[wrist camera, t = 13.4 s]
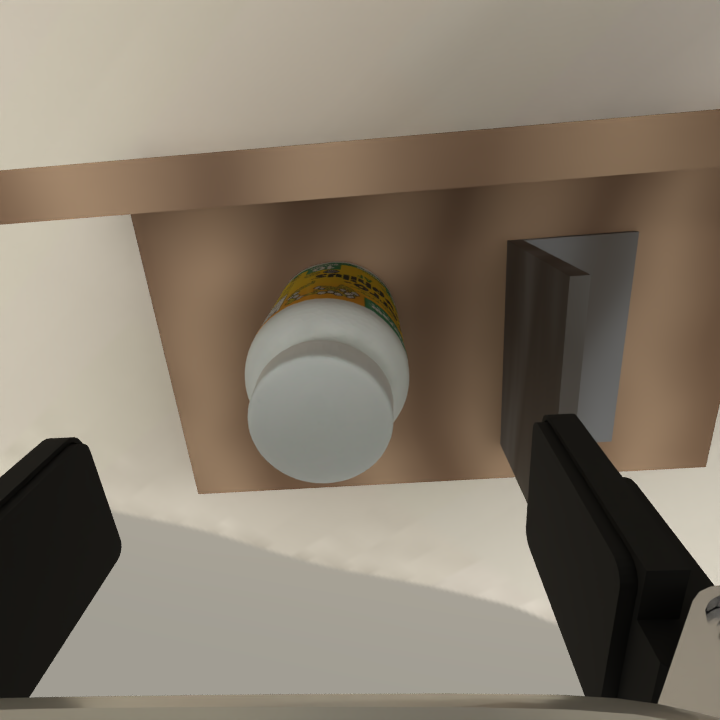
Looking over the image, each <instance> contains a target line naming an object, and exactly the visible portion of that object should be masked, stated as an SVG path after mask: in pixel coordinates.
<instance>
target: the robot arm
mask: <svg viewBox="0 0 720 720" xmlns="http://www.w3.org/2000/svg"><path fill="white" fill-rule="evenodd" d="M526 535H527V541H528V545H529V548H530V551H531V554H532V556H533V559H534V562H535V564H536V567H537V570H538V572H539V575H540V578H541V580H542V583H543V586H544V588H545V591H546V594H547V596H548V599H549V602H550V604H551V607H552V610H553V612H554V615H555V618H556V620H557V623H558V626H559V628H560V631H561V634H562V636H563V639H564V641H565V644H566V647H567V650H568V652H569V655H570V658H571V660H572V663H573V666H574V668H575V671H576V674H577V676H578V679H579V682H580V684H581V687H582V689H583V692H584V695H585V696H570V695H535V694H457V693H455V694H454V693H453V694H452V693H445V694H444V693H437V694H435V693H431V694H430V693H428V694H426V693H425V694H272V695H271V694H270V695H269V694H265V695H264V694H263V695H173V696H172V695H171V696H93V697H35V698H29V696H30V695H31V694H32V692H33V691H34V689H35V687H36V686H37V684H38V683H39V681H40V680H41V678H42V676H43V675H44V674H45V672H46V670H47V669H48V667H49V666H50V664H51V663H52V661H53V659H54V658H55V656H56V655H57V653H58V652H59V650H60V649H61V647H62V645H63V644H64V642H65V641H66V639H67V638H68V636H69V634H70V633H71V631H72V630H73V628H74V627H75V625H76V624H77V622H78V621H79V619H80V618H81V616H82V614H83V613H84V611H85V610H86V608H87V607H88V605H89V604H90V602H91V601H92V599H93V597H94V596H95V594H96V593H97V591H98V590H99V588H100V587H101V585H102V583H103V582H104V580H105V579H106V577H107V576H108V574H109V573H110V571H111V569H112V568H113V566H114V564H115V563H116V562H117V560H118V558H119V556H120V553H121V540H120V537H119V534H118V531H117V528H116V525H115V522H114V519H113V516H112V513H111V510H110V507H109V504H108V502H107V499H106V496H105V493H104V490H103V487H102V484H101V481H100V478H99V475H98V472H97V469H96V466H95V464H94V461H93V458H92V455H91V452H90V449H89V447H88V446H87V445H86V444H82V442H81V441H80V440H79V439H78V438H75V437H70V438H50V439H46V440H44V441H42V442H41V443H40V444H39V445H37V446H36V447H35V448H34V449H33V450H32V451H30V452H29V453H28V454H27V455H26V456H25V457H23V458H22V459H21V460H20V461H19V462H18V463H16V464H15V465H14V466H13V467H12V468H11V469H9V470H8V471H7V472H6V473H5V474H4V475H2V476H1V477H0V720H720V586H714V585H713V583H712V582H711V581H710V579H709V578H708V577H707V575H706V574H705V573H704V572H703V570H702V569H701V568H700V566H699V565H698V564H697V562H696V561H695V560H694V558H693V557H692V556H691V555H690V553H689V552H688V551H687V549H686V548H685V547H684V545H683V544H682V543H681V542H680V540H679V539H678V538H677V536H676V535H675V534H674V532H673V531H672V530H671V529H670V527H669V526H668V525H667V523H666V522H665V521H664V519H663V518H662V517H661V516H660V514H659V513H658V512H657V510H656V509H655V508H654V506H653V505H652V504H651V503H650V501H649V500H648V499H647V497H646V496H645V495H644V493H643V492H642V491H641V490H640V488H639V487H638V486H637V484H636V483H635V482H634V481H633V480H632V479H630V478H627V477H622V476H621V475H620V473H619V472H618V471H617V469H616V468H615V466H614V465H613V464H612V462H611V461H610V460H609V458H608V457H607V456H606V454H605V453H604V452H603V450H602V449H601V448H600V446H599V445H598V444H597V442H596V441H595V440H594V438H593V437H592V435H591V434H590V433H589V431H588V430H587V429H586V427H585V426H584V425H583V423H582V422H581V421H580V419H579V418H578V417H577V416H576V415H575V414H573V413H571V414H550V415H544V416H543V419H542V422H535V423H534V425H533V431H532V446H531V461H530V476H529V491H528V505H527V520H526Z"/></svg>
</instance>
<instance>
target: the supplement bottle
mask: <svg viewBox="0 0 720 720" xmlns="http://www.w3.org/2000/svg"><path fill="white" fill-rule="evenodd" d="M245 386H246V391H247V395H248V398H249V401H250V402H249V406H248V427H249V431H250V435H251V437H252V440H253V442H254V444H255V446H256V448H257V449H258V451H259V452H260V454H261V455H262V456H263V457H264V458H265V459H266V460H267V461H268V462H269V463H270V464H271V465H272V466H273V467H275V468H276V469H278V470H279V471H281V472H282V473H284V474H286V475H288V476H290V477H293V478H295V479H298V480H301V481H306V482H311V483H334V482H339V481H344V480H347V479H350V478H353V477H355V476H357V475H359V474H361V473H363V472H365V471H366V470H367V469H369V468H370V467H371V466H373V465H374V464H375V463H376V462H377V461H378V459H379V458H380V457H381V456H382V455H383V453H384V451H385V450H386V448H387V446H388V444H389V441H390V439H391V436H392V431H393V423H394V421H395V420H396V418H397V417H398V415H399V414H400V412H401V410H402V408H403V406H404V403H405V400H406V397H407V393H408V388H409V366H408V357H407V353H406V350H405V346H404V341H403V336H402V332H401V328H400V323H399V318H398V314H397V309H396V306H395V303H394V300H393V297H392V295H391V293H390V291H389V289H388V288H387V286H386V285H385V284H384V282H383V281H382V280H381V279H380V278H379V277H377V276H376V275H375V274H374V273H372V272H371V271H369V270H368V269H366V268H364V267H362V266H359V265H356V264H354V263H349V262H327V263H321V264H317V265H314V266H311V267H309V268H307V269H305V270H303V271H301V272H300V273H299V274H297V275H296V276H295V277H294V278H293V279H292V280H291V281H290V282H289V283H288V285H287V286H286V287H285V289H284V290H283V292H282V294H281V295H280V297H279V299H278V300H277V302H276V304H275V305H274V307H273V308H272V310H271V311H270V313H269V315H268V316H267V318H266V320H265V321H264V323H263V324H262V326H261V328H260V329H259V331H258V332H257V334H256V336H255V338H254V340H253V342H252V344H251V346H250V349H249V351H248V355H247V359H246V364H245Z"/></svg>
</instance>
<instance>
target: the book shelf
mask: <svg viewBox="0 0 720 720" xmlns="http://www.w3.org/2000/svg"><path fill="white" fill-rule="evenodd" d="M125 214H131V218H132V222H133V226H134V230H135V234H136V238H137V243H138V247H139V251H140V255H141V259H142V263H143V267H144V271H145V276H146V280H147V284H148V288H149V292H150V296H151V300H152V304H153V309H154V313H155V317H156V321H157V325H158V329H159V333H160V337H161V342H162V346H163V350H164V354H165V358H166V362H167V366H168V370H169V375H170V379H171V383H172V387H173V391H174V395H175V399H176V403H177V407H178V412H179V416H180V420H181V424H182V428H183V432H184V436H185V440H186V445H187V449H188V453H189V457H190V461H191V465H192V469H193V473H194V478H195V482H196V486H197V490H198V494H208V493H227V492H245V491H264V490H283V489H301V488H320V487H339V486H358V485H376V484H395V483H414V482H433V481H451V480H470V479H489V478H507V477H516V480H517V482H518V484H519V486H520V488H521V490H522V493H523V495H524V497H525V499H526V501H527V503H528V491H529V476H530V461H531V446H532V431H533V425H534V423H535V422H542V419H543V416H544V415H550V414H571V413H573V414H575V415H576V416H577V417H578V418H579V419H580V421H581V422H582V423H583V425H584V426H585V427H586V429H587V430H588V431H589V433H590V434H591V435H592V437H593V438H594V440H595V441H596V442H597V444H598V445H599V446H600V448H601V449H602V450H603V452H604V453H605V454H606V456H607V457H608V458H609V460H610V461H611V462H612V464H613V465H614V466H615V468H616V469H617V471H618V472H620V471H638V470H657V469H676V468H695V467H706V463H707V459H708V454H709V450H710V445H711V440H712V436H713V431H714V427H715V422H716V418H717V413H718V409H719V404H720V109H716V110H704V111H693V112H681V113H669V114H657V115H646V116H634V117H622V118H611V119H599V120H587V121H575V122H564V123H552V124H540V125H529V126H517V127H505V128H493V129H482V130H470V131H458V132H447V133H435V134H423V135H411V136H400V137H388V138H376V139H365V140H353V141H341V142H329V143H318V144H306V145H294V146H283V147H271V148H259V149H247V150H236V151H224V152H212V153H201V154H189V155H177V156H165V157H154V158H142V159H130V160H119V161H107V162H95V163H83V164H72V165H60V166H48V167H37V168H25V169H13V170H1V171H0V225H1V224H13V223H26V222H38V221H51V220H63V219H76V218H88V217H101V216H113V215H125ZM327 262H349V263H354V264H356V265H359V266H362V267H364V268H366V269H368V270H369V271H371V272H372V273H374V274H375V275H376V276H377V277H379V278H380V279H381V280H382V281H383V282H384V284H385V285H386V286H387V288H388V289H389V291H390V293H391V295H392V297H393V300H394V303H395V306H396V309H397V314H398V318H399V323H400V328H401V332H402V336H403V341H404V346H405V350H406V353H407V357H408V366H409V388H408V393H407V397H406V400H405V403H404V406H403V408H402V410H401V412H400V414H399V415H398V417H397V418H396V420H395V421H394V423H393V431H392V436H391V439H390V441H389V444H388V446H387V448H386V450H385V451H384V453H383V455H382V456H381V457H380V458H379V459H378V461H377V462H376V463H375V464H374V465H373V466H371V467H370V468H369V469H367V470H366V471H365V472H363V473H361V474H359V475H357V476H355V477H353V478H350V479H347V480H344V481H339V482H334V483H311V482H306V481H301V480H298V479H295V478H293V477H290V476H288V475H286V474H284V473H282V472H281V471H279V470H278V469H276V468H275V467H273V466H272V465H271V464H270V463H269V462H268V461H267V460H266V459H265V458H264V457H263V456H262V455H261V454H260V452H259V451H258V449H257V448H256V446H255V444H254V442H253V440H252V437H251V435H250V431H249V427H248V406H249V402H250V401H249V398H248V395H247V391H246V386H245V364H246V359H247V355H248V351H249V349H250V346H251V344H252V342H253V340H254V338H255V336H256V334H257V332H258V331H259V329H260V328H261V326H262V324H263V323H264V321H265V320H266V318H267V316H268V315H269V313H270V311H271V310H272V308H273V307H274V305H275V304H276V302H277V300H278V299H279V297H280V295H281V294H282V292H283V290H284V289H285V287H286V286H287V285H288V283H289V282H290V281H291V280H292V279H293V278H294V277H295V276H296V275H297V274H299V273H300V272H301V271H303V270H305V269H307V268H309V267H311V266H314V265H317V264H321V263H327Z"/></svg>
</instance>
